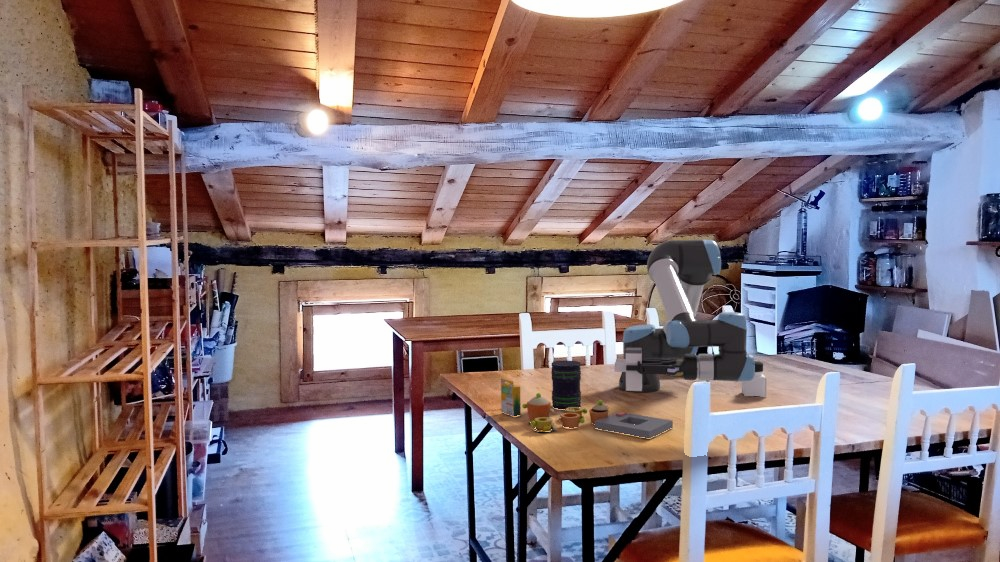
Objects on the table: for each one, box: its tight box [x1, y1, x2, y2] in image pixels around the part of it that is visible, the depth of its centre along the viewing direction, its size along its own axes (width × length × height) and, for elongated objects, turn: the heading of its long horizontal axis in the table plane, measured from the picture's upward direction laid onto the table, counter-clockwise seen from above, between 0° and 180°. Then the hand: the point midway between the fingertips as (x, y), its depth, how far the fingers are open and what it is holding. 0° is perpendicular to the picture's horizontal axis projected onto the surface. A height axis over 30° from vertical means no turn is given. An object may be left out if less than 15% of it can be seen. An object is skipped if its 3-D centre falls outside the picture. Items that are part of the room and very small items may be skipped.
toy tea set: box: [521, 392, 610, 432], centre depth 209 cm, size 26×16×10 cm, turn 108°
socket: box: [594, 411, 674, 438], centre depth 202 cm, size 18×14×3 cm
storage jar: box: [550, 360, 582, 409], centre depth 229 cm, size 10×10×15 cm
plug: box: [625, 348, 642, 392], centre depth 202 cm, size 4×4×12 cm
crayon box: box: [500, 377, 521, 416], centre depth 221 cm, size 7×3×12 cm, turn 32°
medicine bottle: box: [741, 360, 767, 398], centre depth 241 cm, size 7×7×12 cm
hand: (615, 365), depth 203 cm, fingers closed on plug, 4 cm apart
